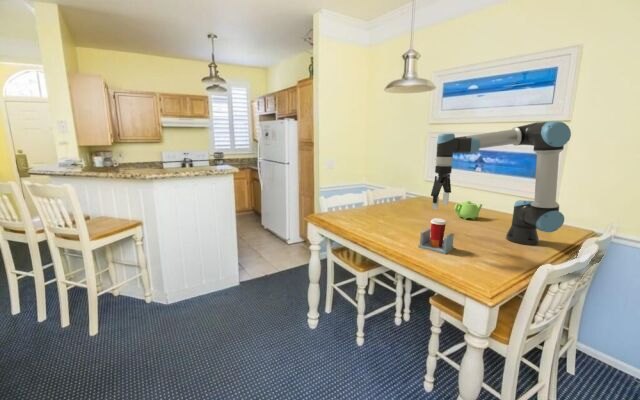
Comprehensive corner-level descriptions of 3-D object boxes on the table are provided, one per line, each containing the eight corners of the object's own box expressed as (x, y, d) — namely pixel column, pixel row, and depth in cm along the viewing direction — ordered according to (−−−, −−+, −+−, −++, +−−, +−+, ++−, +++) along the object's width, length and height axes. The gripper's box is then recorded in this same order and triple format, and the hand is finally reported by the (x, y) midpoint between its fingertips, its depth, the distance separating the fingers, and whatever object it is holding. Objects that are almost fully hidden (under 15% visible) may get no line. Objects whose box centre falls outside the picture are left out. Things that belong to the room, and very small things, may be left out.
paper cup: (440, 243, 160) (442, 218, 157) (446, 248, 152) (449, 222, 150) (425, 243, 160) (428, 218, 157) (431, 248, 152) (433, 222, 149)
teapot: (475, 215, 222) (477, 199, 220) (486, 220, 209) (488, 203, 207) (449, 215, 221) (450, 199, 219) (458, 220, 208) (460, 203, 206)
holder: (453, 247, 156) (455, 233, 155) (445, 254, 147) (446, 238, 146) (427, 241, 165) (428, 227, 164) (418, 247, 157) (419, 232, 155)
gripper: (445, 163, 159) (442, 202, 163) (425, 166, 141) (422, 210, 145) (460, 164, 154) (456, 204, 158) (441, 167, 136) (438, 212, 140)
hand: (440, 207), depth 152 cm, fingers open, 13 cm apart
